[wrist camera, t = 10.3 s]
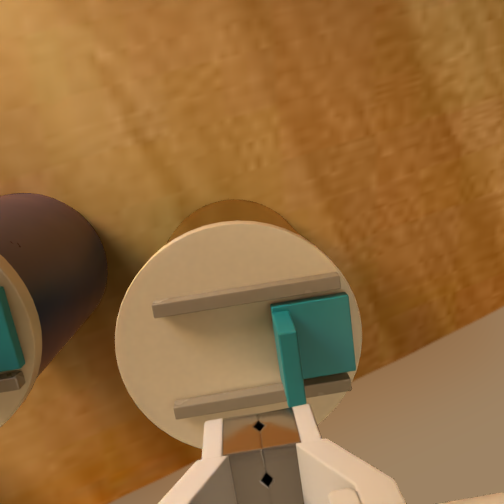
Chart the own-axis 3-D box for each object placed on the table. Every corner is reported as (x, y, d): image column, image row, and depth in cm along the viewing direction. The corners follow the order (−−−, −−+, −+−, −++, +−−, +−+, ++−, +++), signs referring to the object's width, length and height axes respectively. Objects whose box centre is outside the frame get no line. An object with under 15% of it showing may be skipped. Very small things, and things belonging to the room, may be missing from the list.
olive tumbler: (174, 351, 31) (140, 481, 19) (145, 208, 29) (83, 248, 16) (317, 328, 32) (377, 441, 19) (300, 184, 29) (354, 206, 17)
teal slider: (280, 377, 19) (289, 413, 16) (269, 303, 18) (276, 329, 15) (353, 365, 19) (374, 399, 16) (345, 291, 18) (365, 314, 15)
